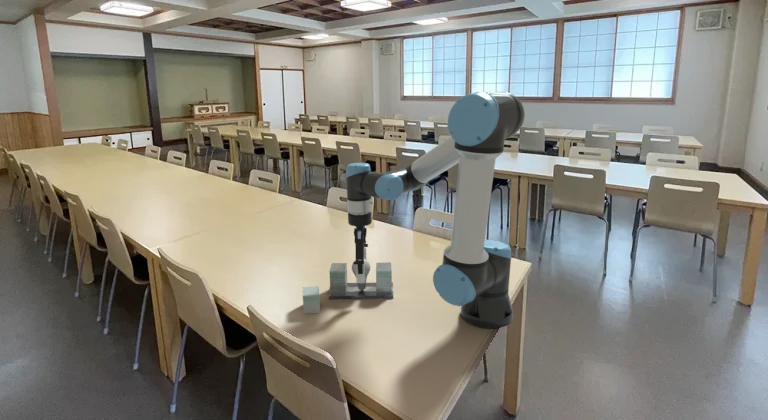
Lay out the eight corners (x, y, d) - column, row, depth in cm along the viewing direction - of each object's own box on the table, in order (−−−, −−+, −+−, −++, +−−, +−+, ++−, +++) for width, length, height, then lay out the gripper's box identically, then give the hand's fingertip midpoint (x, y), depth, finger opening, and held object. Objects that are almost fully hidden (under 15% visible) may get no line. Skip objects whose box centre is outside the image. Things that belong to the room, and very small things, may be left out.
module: (320, 312, 136) (319, 294, 134) (303, 314, 135) (302, 296, 133) (319, 303, 142) (318, 285, 140) (303, 304, 141) (302, 287, 139)
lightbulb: (370, 286, 151) (369, 255, 148) (371, 293, 145) (370, 261, 142) (352, 286, 151) (351, 256, 148) (352, 294, 145) (351, 262, 142)
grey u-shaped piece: (393, 298, 144) (393, 272, 142) (328, 299, 144) (327, 273, 142) (392, 285, 154) (392, 260, 151) (331, 285, 154) (330, 261, 151)
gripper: (370, 222, 129) (372, 289, 135) (372, 202, 154) (373, 259, 159) (344, 223, 129) (347, 290, 135) (350, 202, 154) (352, 260, 159)
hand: (361, 273), depth 147 cm, fingers open, 13 cm apart
